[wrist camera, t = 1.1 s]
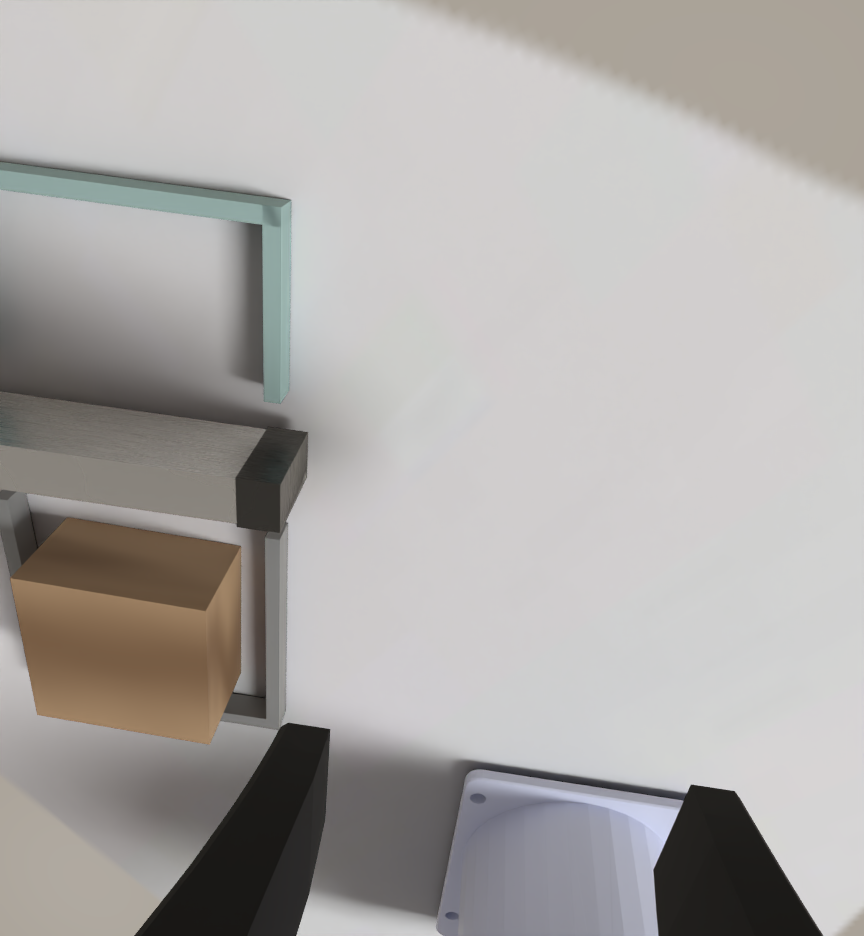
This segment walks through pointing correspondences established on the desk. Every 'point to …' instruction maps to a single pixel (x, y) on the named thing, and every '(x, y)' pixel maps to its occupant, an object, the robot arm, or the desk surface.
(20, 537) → the socket
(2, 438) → the bar
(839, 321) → the desk surface
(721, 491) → the desk surface
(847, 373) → the desk surface
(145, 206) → the frame
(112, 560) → the plug
